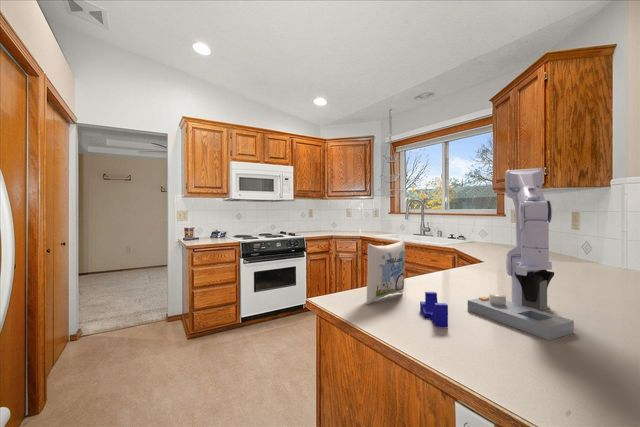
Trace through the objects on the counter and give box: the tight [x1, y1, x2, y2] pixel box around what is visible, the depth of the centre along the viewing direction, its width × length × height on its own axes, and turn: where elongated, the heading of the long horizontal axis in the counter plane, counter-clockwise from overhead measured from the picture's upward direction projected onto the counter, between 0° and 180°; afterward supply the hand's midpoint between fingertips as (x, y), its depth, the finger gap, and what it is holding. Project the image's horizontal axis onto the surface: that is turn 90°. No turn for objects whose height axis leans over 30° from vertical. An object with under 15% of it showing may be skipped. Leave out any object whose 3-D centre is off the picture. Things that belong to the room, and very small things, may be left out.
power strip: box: [467, 292, 575, 341], centre depth 78 cm, size 10×22×6 cm, turn 22°
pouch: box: [366, 239, 406, 305], centre depth 98 cm, size 8×19×20 cm, turn 124°
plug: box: [522, 279, 548, 311], centre depth 74 cm, size 4×4×7 cm
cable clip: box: [419, 291, 449, 328], centre depth 80 cm, size 12×4×6 cm, turn 172°
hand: (534, 299), depth 74 cm, fingers closed on plug, 4 cm apart
